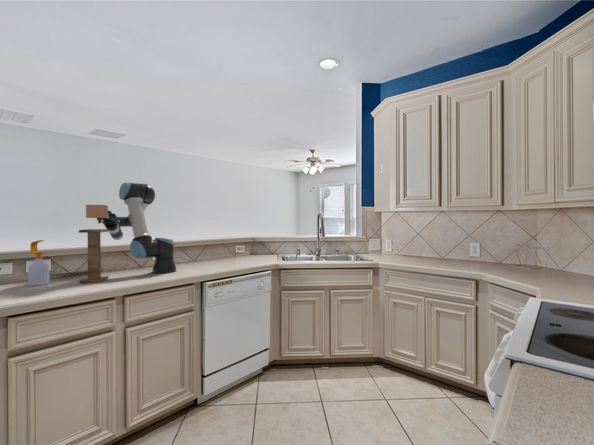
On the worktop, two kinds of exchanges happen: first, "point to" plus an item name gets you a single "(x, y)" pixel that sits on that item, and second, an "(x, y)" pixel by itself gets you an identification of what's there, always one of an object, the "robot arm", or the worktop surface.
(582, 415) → the worktop surface
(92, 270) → the tall stand
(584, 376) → the worktop surface
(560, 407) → the worktop surface
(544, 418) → the worktop surface
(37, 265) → the soap bottle
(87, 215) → the handled block
